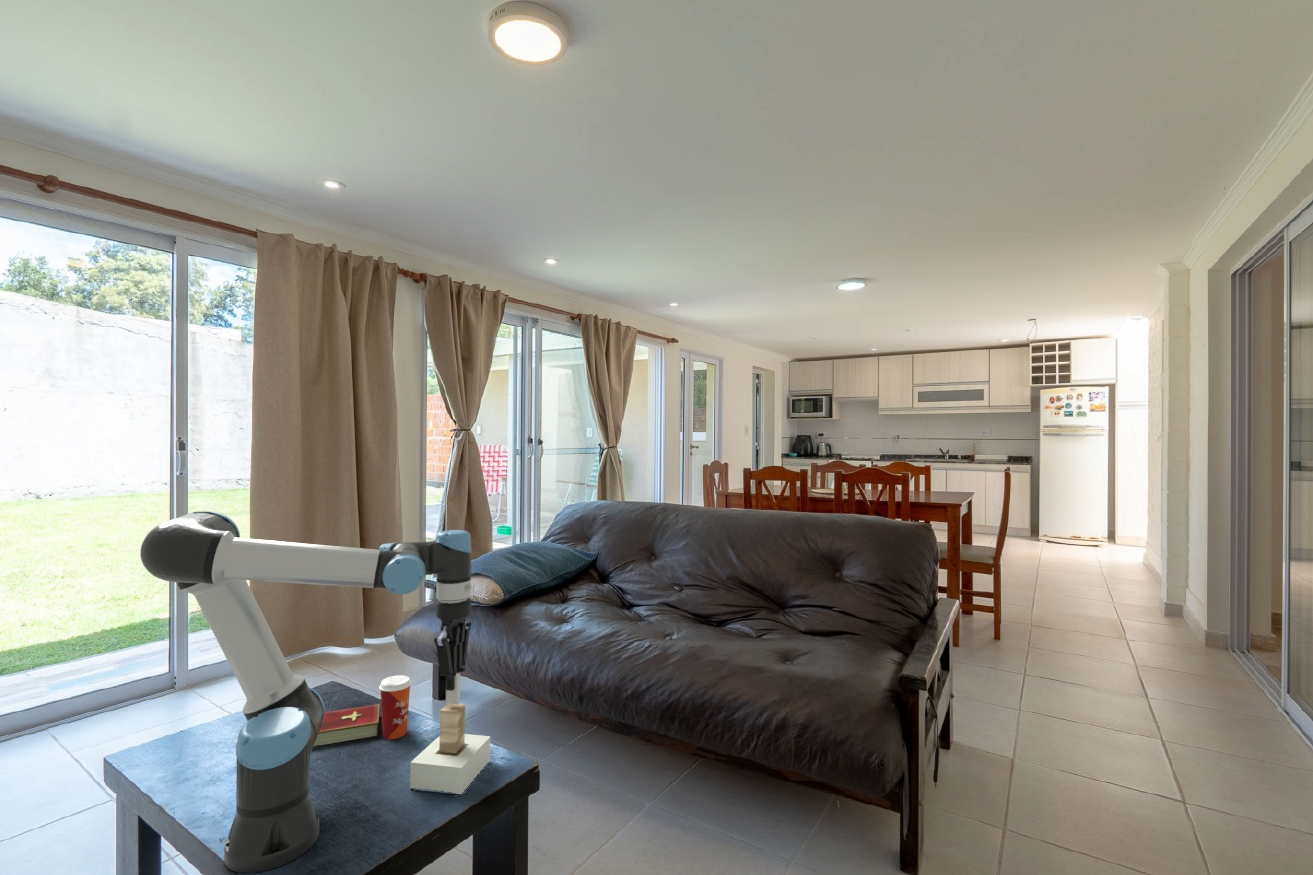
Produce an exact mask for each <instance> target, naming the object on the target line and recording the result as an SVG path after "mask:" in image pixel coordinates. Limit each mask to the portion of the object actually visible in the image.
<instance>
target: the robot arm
mask: <svg viewBox="0 0 1313 875" xmlns="http://www.w3.org/2000/svg"><path fill="white" fill-rule="evenodd" d="M471 536H472V535H471V533H469V532H468V531H467V530H461V529H449V530H442V531H439V532H438V533H437V534H436V538H435V540H430V541H410V542H409V541H407V542H406V541H405V542H404V541H403V542H398V541H394V542H392V543H383V544H381V545H380V546H379V547H378V549H374V548H362V547H349V546H339V545H338V546H336V545H328V544H327V545H324V544H315V543H305V542H303V543H302V542H294V541H281V540H279V541H278V540H269V539H257V538H247V537H246V538H245V537H241V534H240V530H239V527H238V526H237V524H236V523H235V522H234V520H232V519H231V518H230V517H228V516H227V515H225V514H223V513H220V512H218V511H217V512H216V511H210V510H209V511H207V510H205V511H203V510H202V511H194V512H190V513H186V514H183V515H182V516H178V517H176V518H172V519H170V520H166V521H163V522H162V523H159V524H158V525H156V526H155V527H153V528H152V529H151V530H150V531H149V533H147V534H146V536H145V537H144V539H143V541H142V543H141V546H140V553H139V554H140V560H141V563H142V565H143V567H144V568H145V569H146V571H147V572H149V573H150V574H151V576H153V577H156V578H157V579H159V580H162V581H166V582H173V583H176V584H177V587H178V588H179V590H180V591H181V592H182V593H186V594H187V593H188V594H191V595H193V596H194V598H195V600H196V602H197V603H198V606H199V608H200V609H201V611H202V614H203V615H204V616H203V617H204V619H206V622H207V624H208V626H209V627H210V629H211V631H212V633H213V636H214V637H215V639H216V641H217V643H218V645H219V646H220V649H221V651H222V653H223V655H224V657H225V659H226V660H227V663H228V665H229V667H230V668H231V670H232V672H233V675H234V676H235V678H236V680H237V682H238V684H239V686H240V687H241V690H242V692H243V694H244V696H245V697H246V700H245V701H246V702H245V704H244V705H243V708H242V713H243V715H244V717H245V719H246V723H244V725H243V726H242V727H241V729H240V730H239V733H238V736H237V742H236V744H235V755H236V756H235V757H236V792H235V793H236V797H235V798H236V799H235V800H236V803H235V804H236V806H235V808H236V809H235V815H234V819H233V822H232V824H231V827H230V828H229V829H230V830H229V833H228V836H227V839H226V840H225V842H224V843H225V844H224V849H223V863H224V866H225V867H226V868H227V869H229V870H230V871H233V872H236V873H242V874H243V873H244V874H249V873H251V874H252V873H253V874H254V873H259V872H265V871H268V870H272V869H275V868H278V867H281V866H283V865H285V864H288V863H290V862H292V861H294V860H295V859H297V858H299V857H300V856H302V855H304V854H305V853H306V852H308V851H309V850H310V849H311V848H312V847H313V846H314V844H315V843H316V842H317V840H318V838H319V835H320V818H319V814H318V813H317V812H316V811H315V806H314V803H313V800H312V797H311V795H310V776H311V774H310V772H311V770H310V768H311V754H312V751H313V748H314V747H315V746H314V743H315V741H316V738H317V736H318V733H319V731H320V729H321V726H322V724H323V720H324V713H325V703H324V701H323V699H322V697H321V695H320V694H319V693H318V691H317V690H315V689H314V688H312V687H309V685H308V683H307V680H306V679H305V678H304V675H303V676H302V675H298V674H294V673H292V672H293V671H291V668H290V666H289V664H288V662H287V661H286V658H285V657H284V655H283V652H282V650H281V648H280V647H279V644H278V642H277V640H276V638H275V635H274V634H273V632H272V630H271V627H270V625H269V624H268V621H267V620H266V618H265V616H264V614H263V611H262V610H261V608H260V606H259V604H258V601H257V600H256V598H255V595H254V593H253V591H252V590H251V587H250V586H249V584H248V582H247V581H254V582H255V581H257V582H271V583H272V582H273V583H286V584H287V583H288V584H289V583H290V584H304V585H318V586H319V585H320V586H321V585H322V586H336V587H348V588H349V587H350V588H351V587H352V588H365V589H366V588H367V589H380V590H388V591H390V592H391V593H393V594H395V595H400V596H401V595H402V596H403V595H409V594H411V593H413V592H415V591H416V590H418V588H419V587H420V586H421V585H422V583H423V580H424V578H425V576H433V575H436V587H435V588H436V590H435V591H436V593H435V598H436V604H435V605H436V606H435V610H436V612H435V616H436V618H437V619H439V620H441V625H440V634H439V636H435V637H434V639H433V642H434V645H435V647H436V653H437V659H438V660H437V661H438V667H439V676H440V677H441V676H442V677H445V704H448V703H449V704H460V702H461V673H464V672H465V671H466V668H465V666H466V664H467V656H468V646H469V637H470V631H471V629H472V627H471V626H472V622H471V621H467V617H469V616H470V615H471V613H472V612H471V611H472V599H471V598H470V597H472V596H471V595H472V594H471V593H472V588H473V585H472V582H471V581H472V553H473V552H472V539H471V538H472V537H471Z"/></svg>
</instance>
